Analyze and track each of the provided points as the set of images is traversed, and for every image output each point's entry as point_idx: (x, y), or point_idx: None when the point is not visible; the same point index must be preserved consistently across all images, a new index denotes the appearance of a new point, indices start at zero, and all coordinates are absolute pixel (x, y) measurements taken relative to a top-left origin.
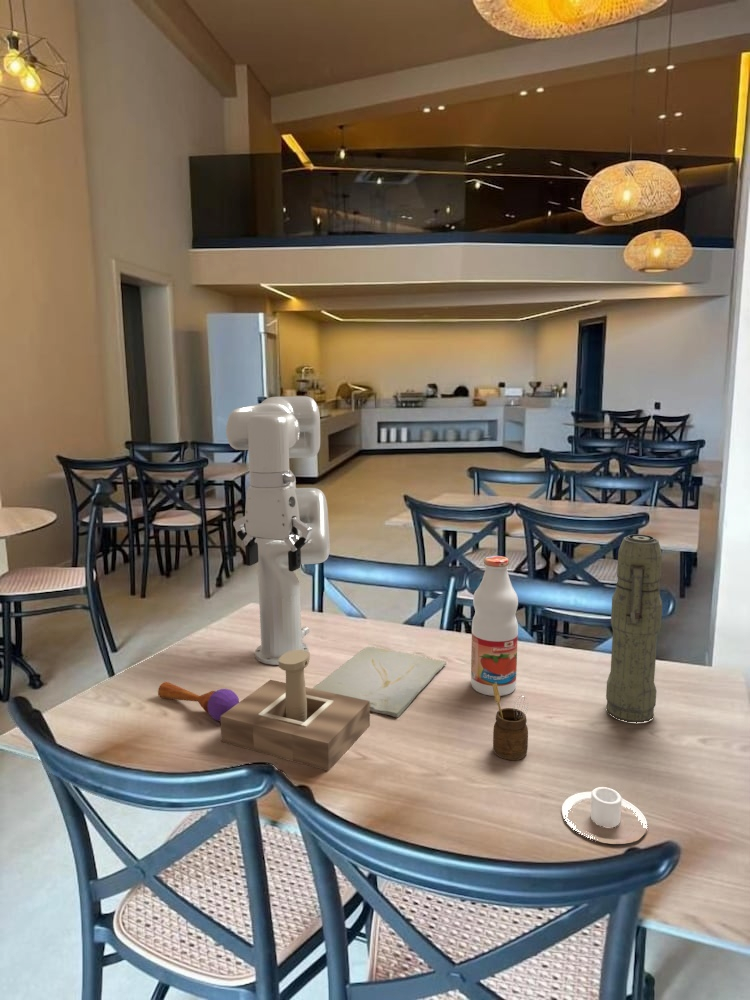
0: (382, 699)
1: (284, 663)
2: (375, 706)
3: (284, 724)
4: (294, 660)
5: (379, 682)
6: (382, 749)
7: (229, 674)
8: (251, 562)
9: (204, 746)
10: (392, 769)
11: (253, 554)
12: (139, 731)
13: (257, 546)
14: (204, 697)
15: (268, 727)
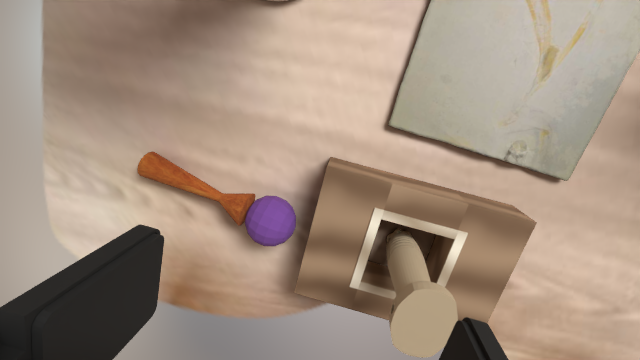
0: (538, 128)
1: (409, 354)
2: (525, 157)
3: None
4: (428, 340)
5: (532, 59)
6: (535, 264)
7: (213, 61)
8: (147, 308)
9: (283, 281)
10: (550, 306)
11: (114, 322)
12: (183, 258)
13: (69, 307)
14: (235, 221)
15: (377, 314)
